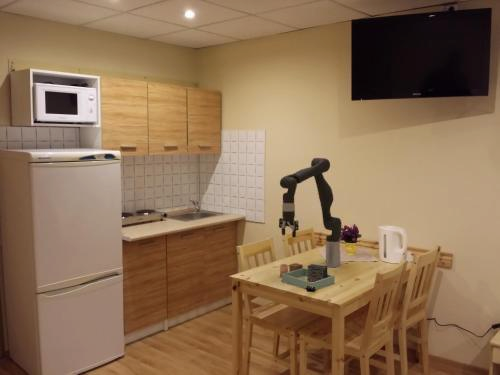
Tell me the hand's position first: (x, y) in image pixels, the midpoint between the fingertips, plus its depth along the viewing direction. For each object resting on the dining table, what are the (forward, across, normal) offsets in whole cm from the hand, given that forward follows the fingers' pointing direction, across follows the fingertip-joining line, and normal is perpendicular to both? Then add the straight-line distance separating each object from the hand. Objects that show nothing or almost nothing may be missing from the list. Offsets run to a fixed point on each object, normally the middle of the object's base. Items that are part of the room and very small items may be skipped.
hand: (288, 236), depth 282 cm
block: (+27, +4, -10) cm, 29 cm away
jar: (+27, +5, 0) cm, 27 cm away
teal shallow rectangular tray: (+27, -13, -2) cm, 30 cm away
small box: (+27, -18, -6) cm, 33 cm away
